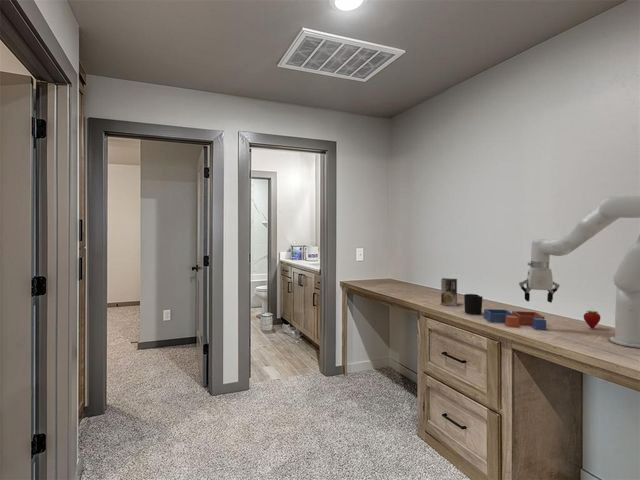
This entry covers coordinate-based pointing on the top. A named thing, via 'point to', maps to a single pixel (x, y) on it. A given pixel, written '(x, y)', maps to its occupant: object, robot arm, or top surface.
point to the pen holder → (473, 304)
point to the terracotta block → (511, 321)
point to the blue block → (539, 323)
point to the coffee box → (449, 291)
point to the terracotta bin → (526, 317)
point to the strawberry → (592, 318)
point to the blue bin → (496, 315)
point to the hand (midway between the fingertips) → (538, 301)
